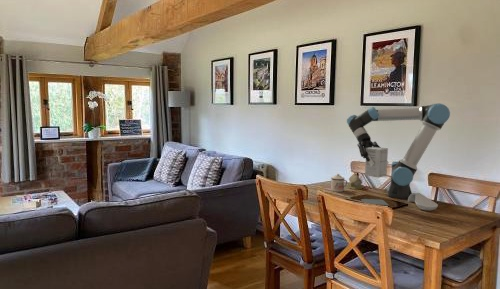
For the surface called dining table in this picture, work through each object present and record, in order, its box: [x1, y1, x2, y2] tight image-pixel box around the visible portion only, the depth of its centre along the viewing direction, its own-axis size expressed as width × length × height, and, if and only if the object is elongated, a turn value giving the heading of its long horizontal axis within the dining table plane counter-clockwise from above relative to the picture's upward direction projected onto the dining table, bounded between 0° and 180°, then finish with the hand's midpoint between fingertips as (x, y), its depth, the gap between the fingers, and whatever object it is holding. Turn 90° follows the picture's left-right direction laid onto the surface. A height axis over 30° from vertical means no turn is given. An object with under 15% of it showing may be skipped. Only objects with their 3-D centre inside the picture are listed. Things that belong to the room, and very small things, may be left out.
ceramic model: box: [346, 173, 364, 190], centre depth 277 cm, size 14×11×10 cm
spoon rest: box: [407, 192, 439, 212], centre depth 225 cm, size 24×12×7 cm, turn 5°
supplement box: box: [364, 146, 389, 179], centre depth 227 cm, size 10×9×17 cm
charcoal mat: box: [360, 198, 390, 207], centre depth 230 cm, size 13×13×1 cm
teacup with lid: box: [330, 173, 349, 193], centre depth 265 cm, size 12×9×12 cm
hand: (379, 164), depth 225 cm, fingers closed on supplement box, 11 cm apart
